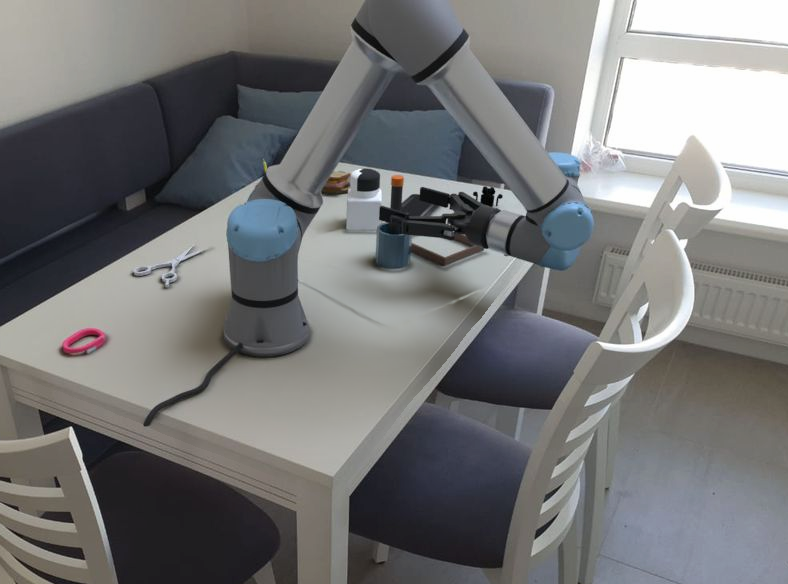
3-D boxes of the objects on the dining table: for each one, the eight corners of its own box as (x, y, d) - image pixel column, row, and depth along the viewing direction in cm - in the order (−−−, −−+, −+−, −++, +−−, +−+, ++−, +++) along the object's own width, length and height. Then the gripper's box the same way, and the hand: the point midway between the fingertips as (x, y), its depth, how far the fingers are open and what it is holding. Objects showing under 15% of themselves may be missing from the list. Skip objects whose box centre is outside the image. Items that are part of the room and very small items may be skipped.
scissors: (125, 273, 164) (184, 238, 178) (126, 277, 165) (184, 241, 179) (167, 284, 160) (223, 247, 174) (167, 288, 160) (223, 250, 174)
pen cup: (392, 275, 163) (394, 238, 159) (368, 263, 168) (369, 227, 163) (417, 265, 167) (419, 229, 162) (393, 254, 171) (395, 219, 167)
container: (380, 220, 187) (382, 165, 180) (380, 233, 181) (382, 177, 174) (347, 219, 188) (348, 165, 181) (346, 232, 182) (347, 177, 174)
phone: (442, 198, 195) (420, 219, 184) (442, 202, 195) (420, 223, 185) (412, 193, 198) (388, 213, 187) (412, 197, 199) (388, 218, 188)
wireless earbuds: (471, 206, 193) (473, 186, 190) (472, 203, 195) (475, 183, 192) (500, 209, 191) (503, 189, 188) (502, 206, 193) (504, 185, 190)
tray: (444, 269, 165) (445, 258, 163) (389, 244, 176) (390, 234, 174) (483, 253, 171) (484, 243, 170) (428, 230, 182) (429, 220, 180)
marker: (392, 264, 165) (397, 179, 155) (384, 260, 167) (388, 176, 157) (400, 261, 167) (406, 177, 157) (392, 257, 168) (397, 174, 158)
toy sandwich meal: (368, 183, 208) (369, 166, 205) (339, 199, 199) (340, 181, 196) (329, 174, 214) (329, 157, 212) (299, 189, 205) (299, 171, 203)
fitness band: (80, 359, 138) (78, 352, 137) (56, 350, 141) (54, 343, 140) (112, 339, 144) (111, 331, 143) (89, 330, 146) (87, 323, 146)
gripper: (456, 271, 141) (361, 239, 154) (525, 228, 157) (434, 203, 169) (460, 231, 137) (363, 202, 149) (531, 191, 152) (437, 168, 165)
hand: (400, 202), depth 159 cm, fingers open, 13 cm apart
